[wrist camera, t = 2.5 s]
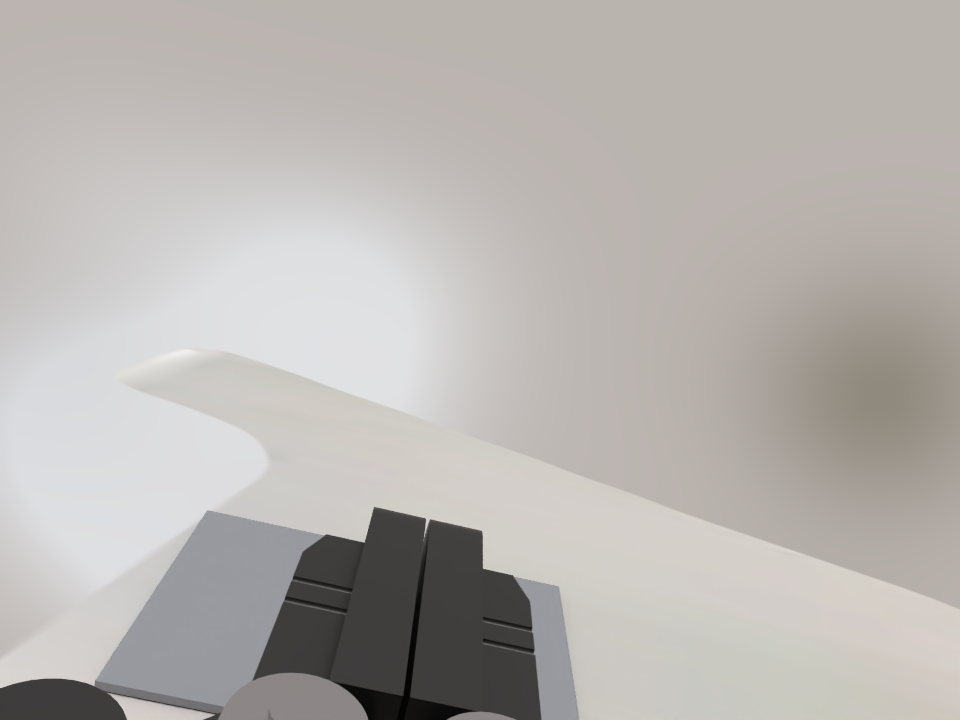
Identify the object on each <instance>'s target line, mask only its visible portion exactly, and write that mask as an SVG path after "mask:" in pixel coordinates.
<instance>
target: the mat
mask: <svg viewBox="0 0 960 720" xmlns="http://www.w3.org/2000/svg"><path fill="white" fill-rule="evenodd" d="M322 537H324V536H323V535H319V534H314V533H310V532H305V531H300V530H296V529H291V528H287V527H282V526H277V525H273V524H268V523H264V522H259V521H254V520H250V519H245V518H241V517H236V516H231V515H227V514H222V513H217V512H213V511H207V512H206V513H205V515H204V516H203V518H202V519H201V521H200V522H199V524H198V526H197V527H196V529H195V530H194V532H193V533H192V535H191V536H190V538H189V539H188V541H187V542H186V544H185V545H184V547H183V548H182V550H181V551H180V553H179V554H178V556H177V557H176V559H175V560H174V562H173V564H172V565H171V567H170V568H169V570H168V571H167V573H166V574H165V576H164V577H163V579H162V580H161V582H160V583H159V585H158V586H157V588H156V589H155V591H154V592H153V594H152V595H151V597H150V599H149V600H148V602H147V603H146V605H145V606H144V608H143V609H142V611H141V612H140V614H139V615H138V617H137V618H136V620H135V621H134V623H133V624H132V626H131V627H130V629H129V630H128V632H127V634H126V635H125V637H124V638H123V640H122V641H121V643H120V644H119V646H118V647H117V649H116V650H115V652H114V653H113V655H112V656H111V658H110V659H109V661H108V662H107V664H106V665H105V667H104V669H103V670H102V672H101V673H100V675H99V676H98V678H97V679H96V681H95V687H97V688H99V689H101V690H103V691H106V692H111V693H116V694H121V695H126V696H131V697H136V698H141V699H146V700H151V701H156V702H161V703H166V704H171V705H176V706H181V707H186V708H191V709H196V710H201V711H206V712H211V713H216V714H218V713H220V712H222V711H223V709H224V707H225V705H226V704H227V702H228V701H229V699H230V698H231V696H232V695H233V694H234V693H236V692H237V691H238V690H239V689H240V688H241V687H243V686H244V685H246V684H247V683H249V682H251V681H252V680H253V678H254V675H255V672H256V670H257V667H258V665H259V662H260V660H261V657H262V655H263V652H264V649H265V647H266V644H267V642H268V639H269V637H270V634H271V632H272V629H273V626H274V624H275V621H276V619H277V616H278V614H279V611H280V608H281V606H282V603H283V601H284V600H285V596H286V593H287V591H288V588H289V585H290V583H291V581H292V579H293V575H294V573H295V570H296V568H297V565H298V562H299V560H300V557H301V555H302V552H303V551H304V550H306V549H307V548H308V547H310V546H311V545H313V544H314V543H315V542H317V541H318V540H319V539H321V538H322ZM514 578H515V579H516V581H517V582H518V584H519V585H520V587H521V588H522V590H523V591H524V593H525V594H526V596H527V597H528V599H529V600H530V605H531V616H532V626H533V628H532V633H533V636H534V647H535V651H534V655H535V657H536V667H537V678H538V688H539V698H540V708H541V719H542V720H579V714H578V708H577V701H576V695H575V688H574V682H573V675H572V669H571V662H570V656H569V649H568V643H567V636H566V630H565V623H564V617H563V610H562V604H561V597H560V591H559V587H558V586H554V585H549V584H544V583H540V582H535V581H531V580H526V579H521V578H517V577H514Z"/></svg>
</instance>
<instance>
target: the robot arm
mask: <svg viewBox="0 0 960 720" xmlns="http://www.w3.org/2000/svg"><path fill="white" fill-rule="evenodd" d="M425 524H426V519H425V518H421V517H416V516H412V515H408V514H403V513H399V512H394V511H390V510H385V509H381V508H376V507H374V510H373V513H372V517H371V521H370V525H369V529H368V533H367V536H366V540H365V543H363V542H358V541H354V540H349V539H345V538H340V537H336V536H331V535H327V534H326V535H325V536H324V537H322V538H321V539H319V540H318V541H317V542H315V543H314V544H313V545H311V546H310V547H308V548H307V549H306V550H304V551H303V552H302V555H301V557H300V560H299V562H298V565H297V568H296V570H295V573H294V575H293V579H292V581H291V583H290V585H289V588H288V591H287V593H286V596H285V600H284V601H283V603H282V606H281V608H280V611H279V614H278V616H277V619H276V621H275V624H274V626H273V629H272V632H271V634H270V637H269V639H268V642H267V644H266V647H265V649H264V652H263V655H262V657H261V660H260V662H259V665H258V667H257V670H256V672H255V675H254V678H253V680H252V681H251V682H249V683H247V684H246V685H244V686H243V687H241V688H240V689H239V690H238V691H237V692H236V693H234V694H233V695H232V696H231V698H230V699H229V701H228V702H227V704H226V705H225V707H224V709H223V711H222V712H220V713H218V714H216V715H214V716H212V717H210V718H207V719H204V720H542V719H541V708H540V698H539V688H538V678H537V667H536V657H535V655H534V651H535V647H534V636H533V633H532V628H533V626H532V616H531V605H530V600H529V599H528V597H527V596H526V594H525V593H524V591H523V590H522V588H521V587H520V585H519V584H518V582H517V581H516V579H515V578H514V576H513V575H508V574H504V573H499V572H495V571H490V570H486V569H483V535H482V531H480V530H475V529H471V528H466V527H462V526H457V525H453V524H448V523H444V522H439V521H435V520H431V519H430V521H429V524H428V527H427V530H426V534H425V537H424V532H425ZM423 539H424V541H423ZM0 720H127V719H126V716H125V714H124V711H123V709H122V708H121V706H120V705H119V704H118V702H117V701H116V700H115V699H114V698H112V697H111V696H110V695H109V694H108V693H106V692H104V691H103V690H101V689H99V688H97V687H94V686H92V685H89V684H87V683H83V682H79V681H75V680H67V679H38V680H30V681H25V682H20V683H16V684H12V685H9V686H6V687H3V688H0Z"/></svg>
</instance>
